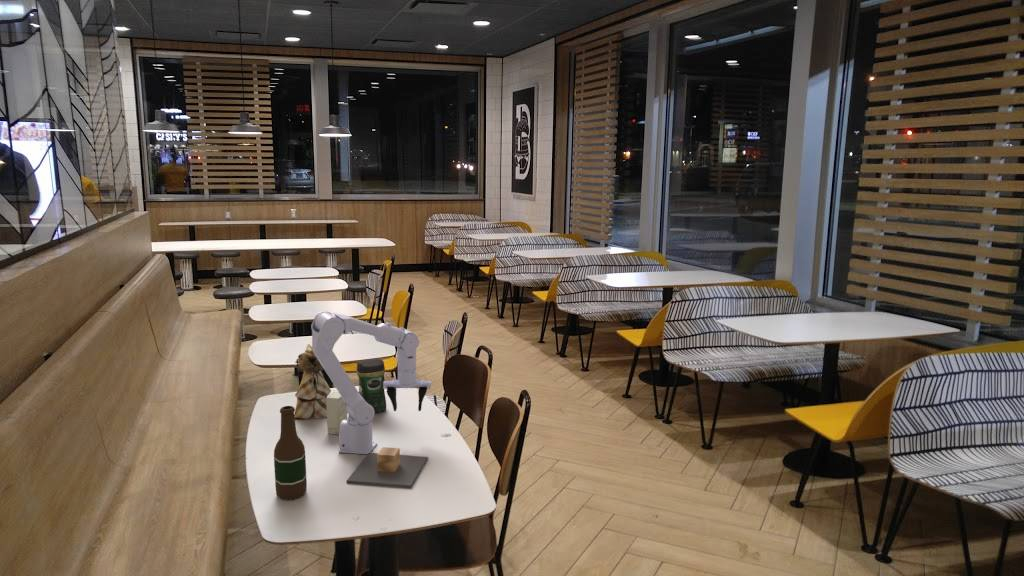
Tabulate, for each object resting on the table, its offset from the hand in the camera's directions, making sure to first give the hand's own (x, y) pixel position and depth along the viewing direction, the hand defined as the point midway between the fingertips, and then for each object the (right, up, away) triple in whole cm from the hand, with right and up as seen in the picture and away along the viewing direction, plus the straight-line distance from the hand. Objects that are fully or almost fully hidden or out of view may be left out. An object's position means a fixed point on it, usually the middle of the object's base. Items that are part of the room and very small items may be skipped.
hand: (407, 409), depth 214 cm
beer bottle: (-25, -16, -35) cm, 46 cm away
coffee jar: (-16, -5, +25) cm, 30 cm away
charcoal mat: (-2, -14, -21) cm, 25 cm away
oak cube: (-2, -13, -21) cm, 24 cm away
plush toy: (-35, -5, +21) cm, 41 cm away
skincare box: (-24, -8, +7) cm, 26 cm away
